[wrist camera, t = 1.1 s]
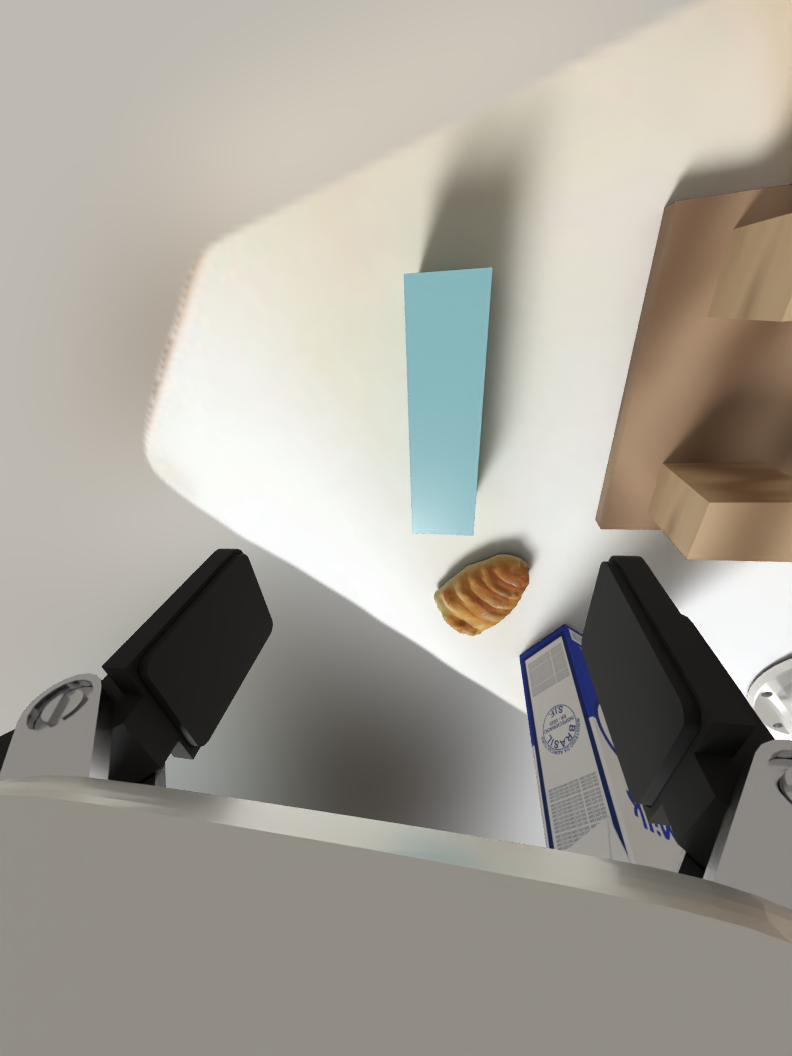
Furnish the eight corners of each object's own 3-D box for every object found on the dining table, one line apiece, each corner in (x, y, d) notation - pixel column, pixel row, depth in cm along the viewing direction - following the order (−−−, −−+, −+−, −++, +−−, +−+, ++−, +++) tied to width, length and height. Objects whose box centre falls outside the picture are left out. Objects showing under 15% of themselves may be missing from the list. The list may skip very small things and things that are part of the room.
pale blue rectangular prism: (487, 274, 23) (492, 267, 18) (472, 498, 31) (473, 535, 26) (417, 279, 24) (403, 273, 19) (421, 496, 32) (412, 532, 27)
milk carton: (615, 655, 38) (731, 936, 21) (566, 684, 41) (632, 943, 25) (563, 623, 37) (642, 891, 20) (517, 655, 40) (551, 906, 24)
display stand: (940, 167, 18) (1199, 93, 11) (764, 520, 28) (849, 583, 22) (664, 207, 20) (753, 163, 14) (595, 519, 30) (628, 576, 24)
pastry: (491, 533, 33) (494, 558, 30) (546, 572, 34) (555, 600, 31) (430, 591, 38) (426, 618, 35) (479, 623, 39) (481, 651, 36)
